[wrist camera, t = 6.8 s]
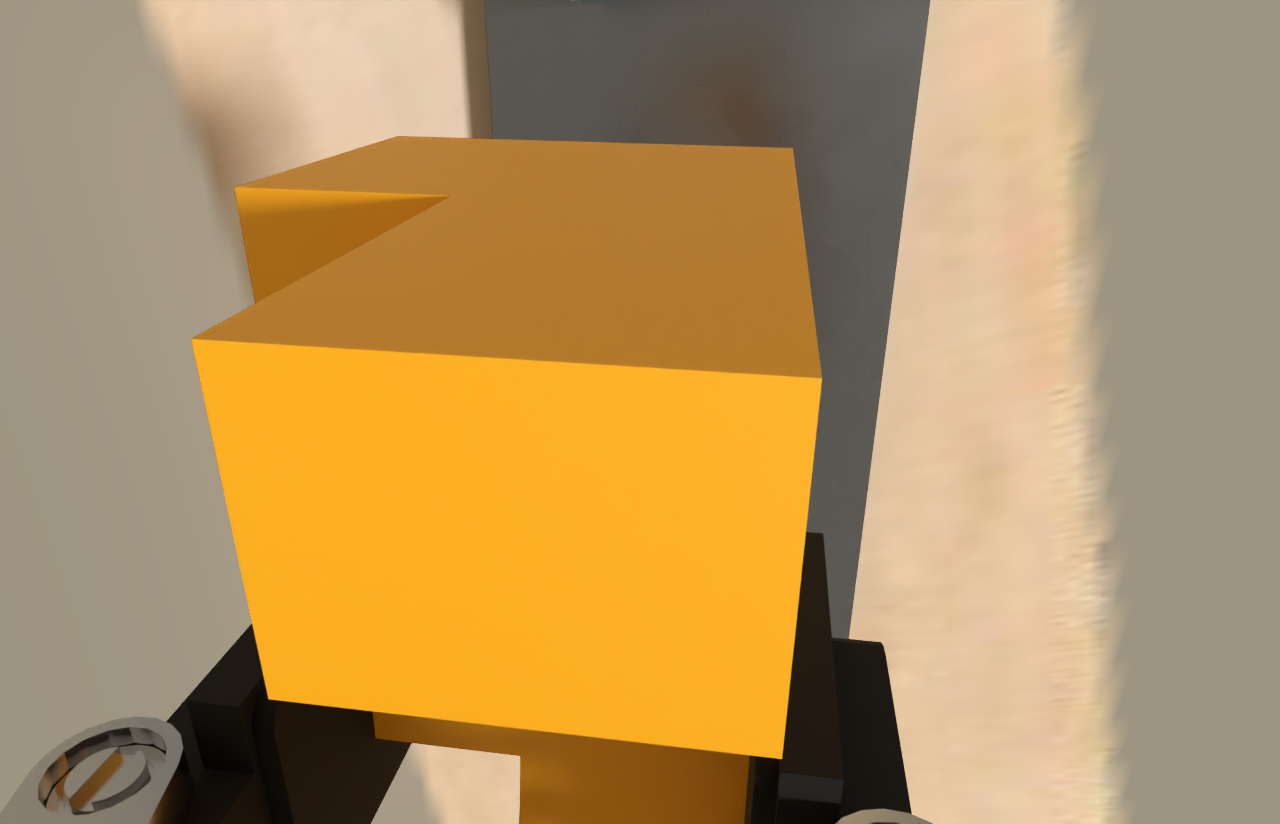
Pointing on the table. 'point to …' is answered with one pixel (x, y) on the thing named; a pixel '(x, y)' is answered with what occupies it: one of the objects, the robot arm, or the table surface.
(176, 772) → the robot arm
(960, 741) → the table surface
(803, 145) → the workpiece vise
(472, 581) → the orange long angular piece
